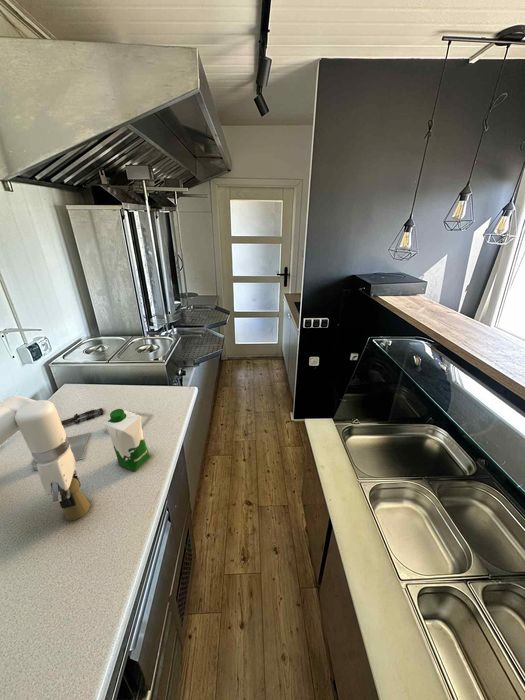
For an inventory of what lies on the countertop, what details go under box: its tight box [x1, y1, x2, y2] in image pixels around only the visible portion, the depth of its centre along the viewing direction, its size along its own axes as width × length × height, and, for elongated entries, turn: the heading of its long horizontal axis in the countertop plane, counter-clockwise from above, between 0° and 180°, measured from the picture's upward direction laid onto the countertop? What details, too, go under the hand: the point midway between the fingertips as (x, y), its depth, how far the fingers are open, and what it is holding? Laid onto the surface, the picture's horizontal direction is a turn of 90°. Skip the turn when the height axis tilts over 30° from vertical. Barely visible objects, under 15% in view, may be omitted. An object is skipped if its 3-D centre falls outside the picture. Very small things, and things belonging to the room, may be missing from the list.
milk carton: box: [104, 408, 151, 472], centre depth 93 cm, size 9×9×20 cm
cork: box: [60, 478, 91, 521], centre depth 78 cm, size 6×6×11 cm
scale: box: [30, 432, 90, 471], centre depth 100 cm, size 15×14×2 cm
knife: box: [61, 407, 105, 428], centre depth 115 cm, size 25×6×1 cm, turn 118°
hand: (71, 496), depth 78 cm, fingers closed on cork, 5 cm apart
